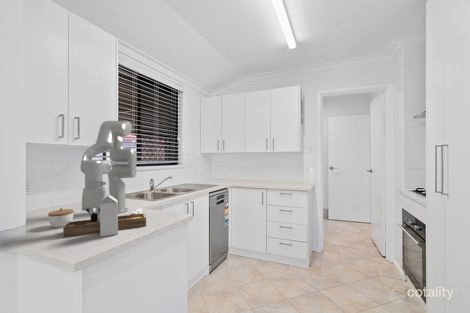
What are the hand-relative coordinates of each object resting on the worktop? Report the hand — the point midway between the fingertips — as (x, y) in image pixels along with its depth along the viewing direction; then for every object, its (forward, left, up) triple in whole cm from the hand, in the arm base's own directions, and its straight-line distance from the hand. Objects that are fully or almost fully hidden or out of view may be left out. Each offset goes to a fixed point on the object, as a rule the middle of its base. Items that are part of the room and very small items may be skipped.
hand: (94, 221), depth 114 cm
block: (0, +3, 0) cm, 3 cm away
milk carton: (+11, +7, -4) cm, 14 cm away
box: (+2, +6, -4) cm, 8 cm away
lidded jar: (-15, -16, -4) cm, 23 cm away
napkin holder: (-10, +20, -5) cm, 23 cm away
